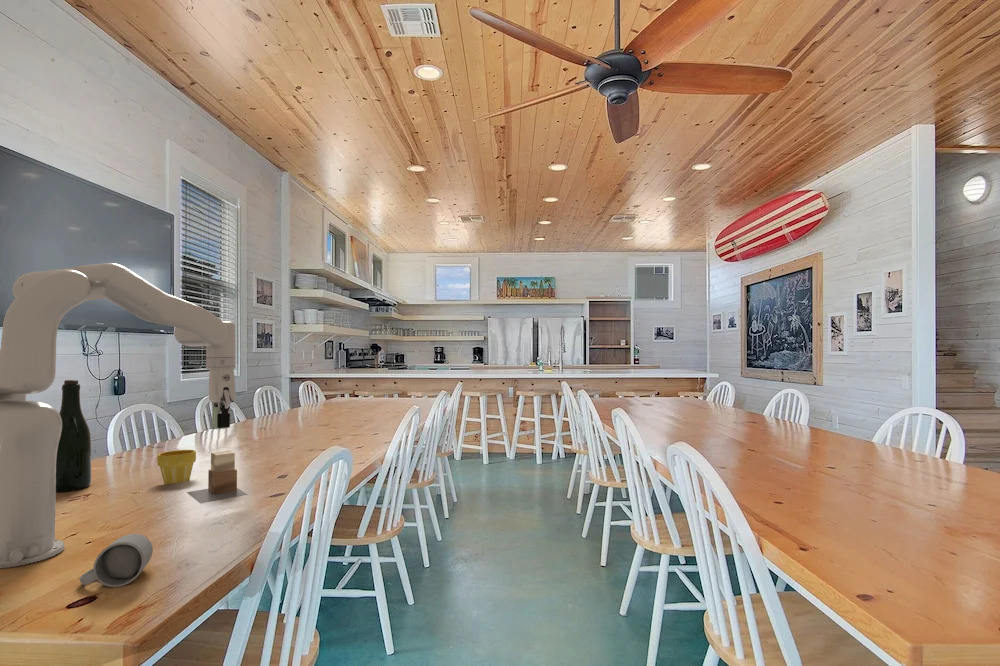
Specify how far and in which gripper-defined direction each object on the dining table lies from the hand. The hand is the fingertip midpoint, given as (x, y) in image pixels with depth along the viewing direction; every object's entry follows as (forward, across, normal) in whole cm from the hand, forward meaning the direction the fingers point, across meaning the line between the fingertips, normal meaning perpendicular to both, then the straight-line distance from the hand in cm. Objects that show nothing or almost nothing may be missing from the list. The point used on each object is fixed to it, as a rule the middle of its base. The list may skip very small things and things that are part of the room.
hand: (220, 425), depth 153 cm
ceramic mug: (+20, -48, +30) cm, 60 cm away
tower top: (+13, 0, -1) cm, 13 cm away
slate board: (+20, -2, +2) cm, 20 cm away
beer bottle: (+20, +40, +32) cm, 55 cm away
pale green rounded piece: (+1, 0, 0) cm, 1 cm away
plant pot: (+20, +23, +6) cm, 31 cm away
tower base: (+19, 0, 0) cm, 19 cm away
